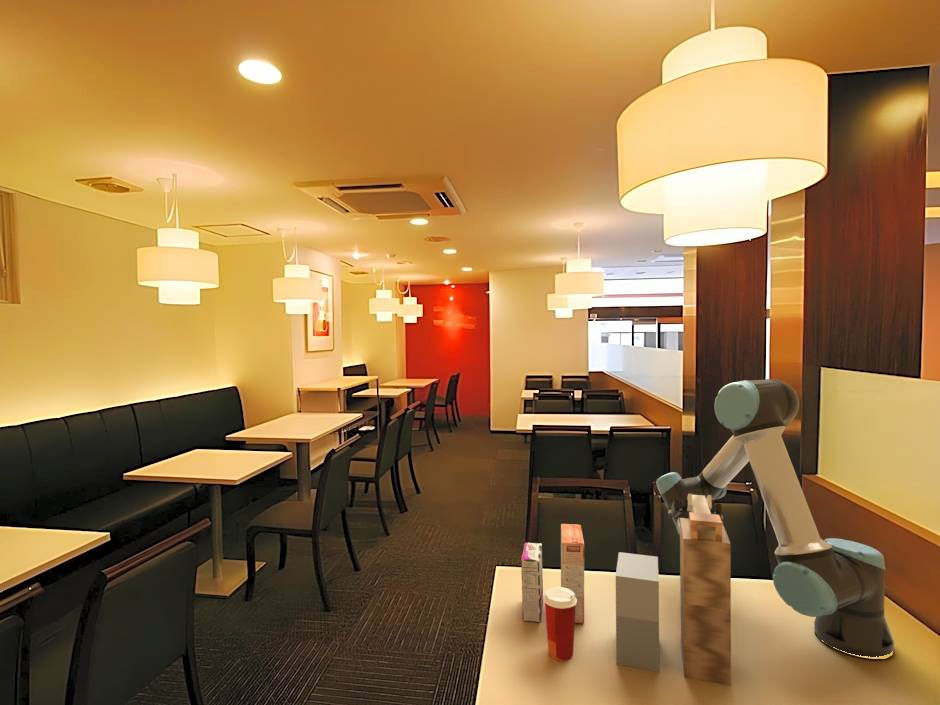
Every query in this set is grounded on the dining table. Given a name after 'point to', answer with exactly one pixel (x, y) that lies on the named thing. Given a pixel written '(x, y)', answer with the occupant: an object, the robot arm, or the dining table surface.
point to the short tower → (637, 611)
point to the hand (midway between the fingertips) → (700, 500)
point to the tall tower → (705, 606)
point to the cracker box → (573, 565)
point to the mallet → (704, 521)
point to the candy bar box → (532, 582)
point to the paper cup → (560, 622)
